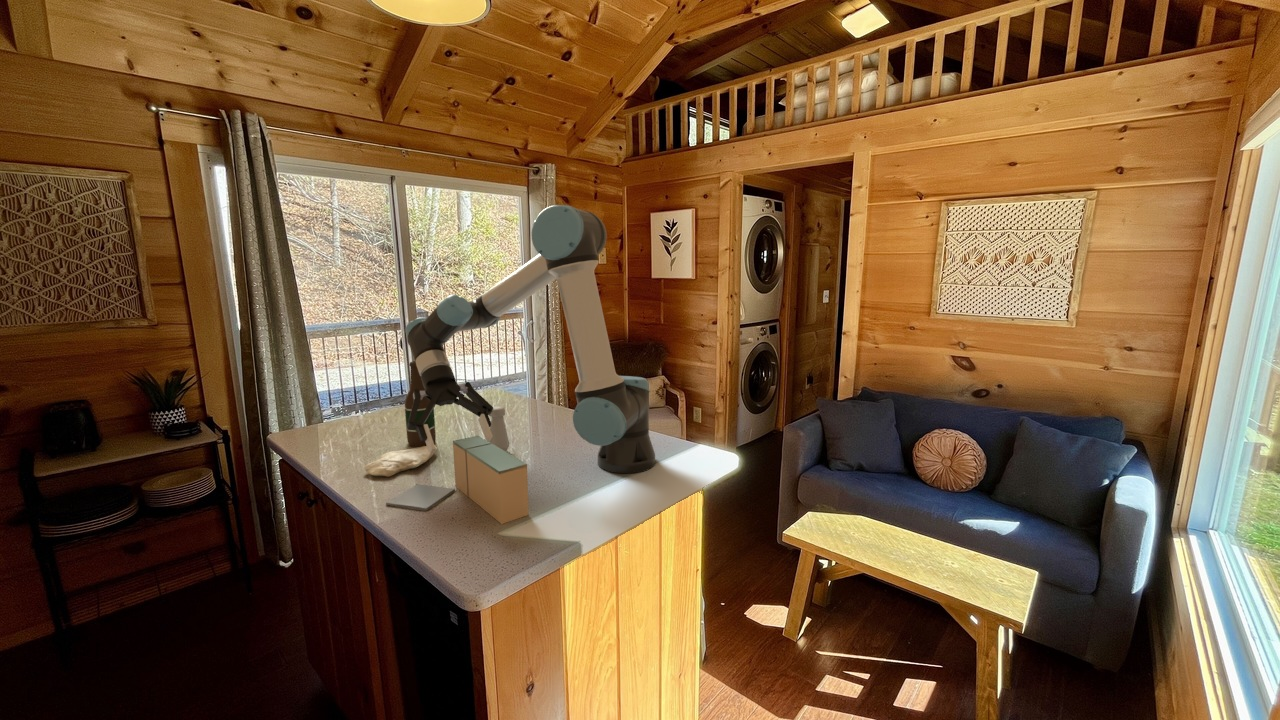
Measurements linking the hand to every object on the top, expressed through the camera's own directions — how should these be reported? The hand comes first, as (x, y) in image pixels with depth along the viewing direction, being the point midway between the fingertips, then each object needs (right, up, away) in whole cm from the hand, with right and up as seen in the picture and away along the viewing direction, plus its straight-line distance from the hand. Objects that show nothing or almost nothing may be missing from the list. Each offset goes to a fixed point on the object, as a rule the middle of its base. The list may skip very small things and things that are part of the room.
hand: (462, 445), depth 120 cm
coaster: (-7, -10, -7) cm, 14 cm away
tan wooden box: (+11, -11, -10) cm, 19 cm away
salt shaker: (+3, -6, +21) cm, 22 cm away
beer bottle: (-22, -4, +30) cm, 37 cm away
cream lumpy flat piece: (-19, -8, +13) cm, 24 cm away
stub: (+3, -10, -1) cm, 10 cm away
